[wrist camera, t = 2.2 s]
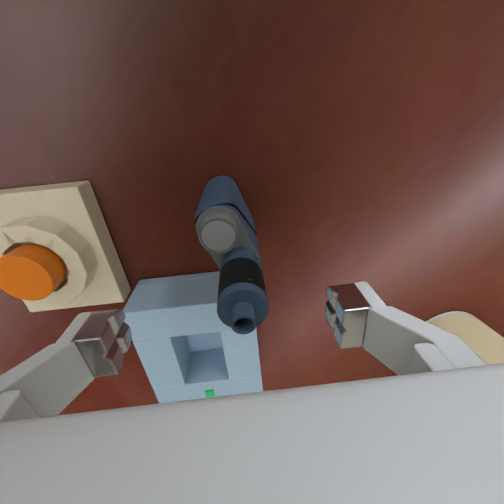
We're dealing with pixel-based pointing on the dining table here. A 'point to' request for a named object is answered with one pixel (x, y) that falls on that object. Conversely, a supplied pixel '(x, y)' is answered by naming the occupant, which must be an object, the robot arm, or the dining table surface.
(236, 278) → the vaping device
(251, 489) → the robot arm
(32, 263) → the orange button
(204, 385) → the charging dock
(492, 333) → the coffee cup
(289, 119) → the dining table surface
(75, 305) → the button box
